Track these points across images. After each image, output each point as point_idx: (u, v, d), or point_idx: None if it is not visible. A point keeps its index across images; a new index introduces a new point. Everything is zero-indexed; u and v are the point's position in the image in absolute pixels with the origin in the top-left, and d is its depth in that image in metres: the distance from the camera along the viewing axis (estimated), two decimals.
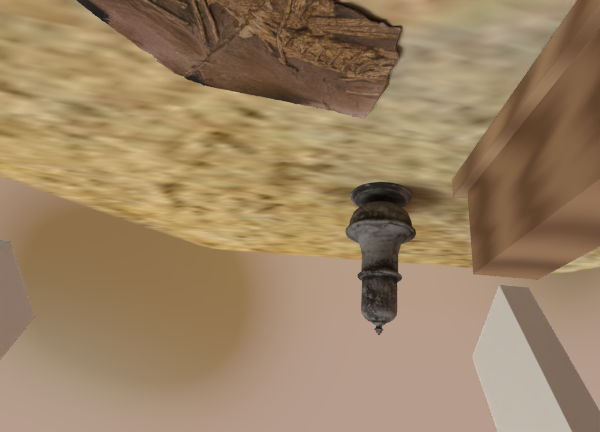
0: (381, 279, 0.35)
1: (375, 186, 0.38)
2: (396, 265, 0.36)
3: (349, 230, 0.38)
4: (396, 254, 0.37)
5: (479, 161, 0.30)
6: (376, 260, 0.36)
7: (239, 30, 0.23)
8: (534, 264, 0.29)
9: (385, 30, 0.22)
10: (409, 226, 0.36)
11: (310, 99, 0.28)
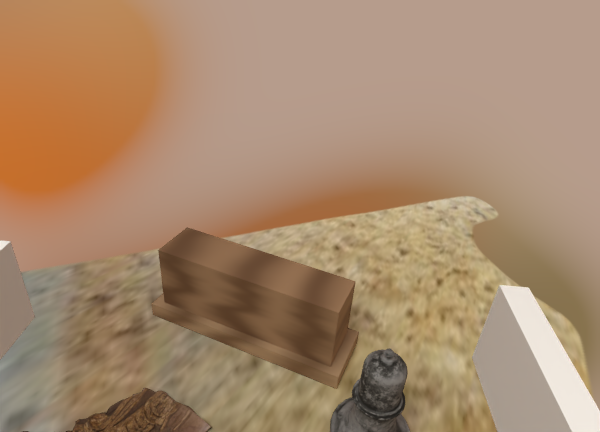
0: (359, 384, 0.31)
1: None
2: None
3: None
4: None
5: (282, 355, 0.41)
6: (355, 402, 0.31)
7: None
8: (316, 282, 0.40)
9: (138, 394, 0.38)
10: None
11: None
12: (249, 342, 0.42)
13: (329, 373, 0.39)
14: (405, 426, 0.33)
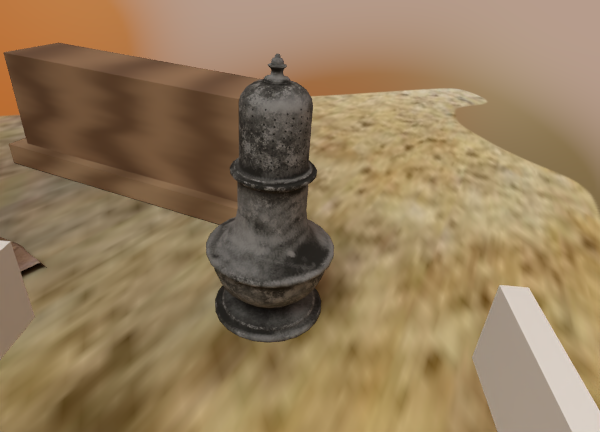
0: None
1: (222, 295, 0.23)
2: None
3: (232, 271, 0.19)
4: None
5: (173, 191, 0.29)
6: None
7: None
8: (217, 79, 0.28)
9: None
10: None
11: None
12: (130, 179, 0.30)
13: (235, 208, 0.27)
14: (327, 241, 0.21)
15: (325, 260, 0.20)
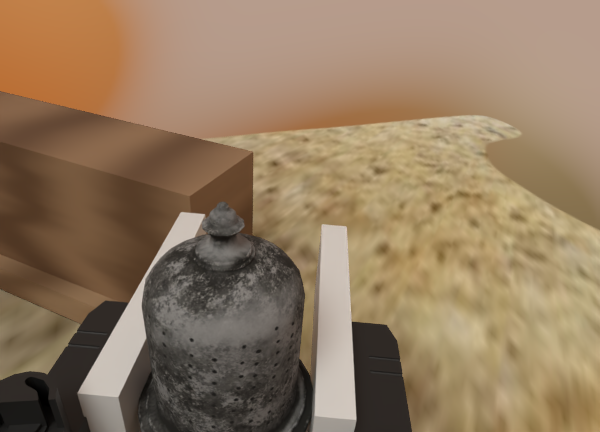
0: None
1: None
2: None
3: None
4: None
5: None
6: None
7: None
8: (167, 150, 0.18)
9: None
10: None
11: None
12: (45, 287, 0.21)
13: None
14: None
15: None
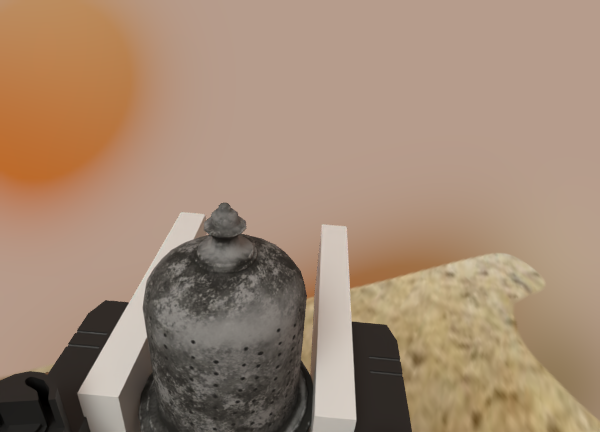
0: None
1: None
2: None
3: None
4: None
5: None
6: None
7: None
8: None
9: None
10: None
11: None
12: None
13: None
14: None
15: None
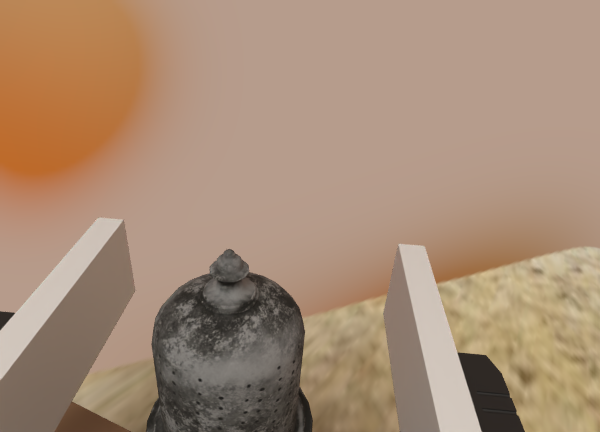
0: None
1: None
2: None
3: None
4: None
5: None
6: None
7: None
8: None
9: None
10: None
11: None
12: None
13: None
14: None
15: None
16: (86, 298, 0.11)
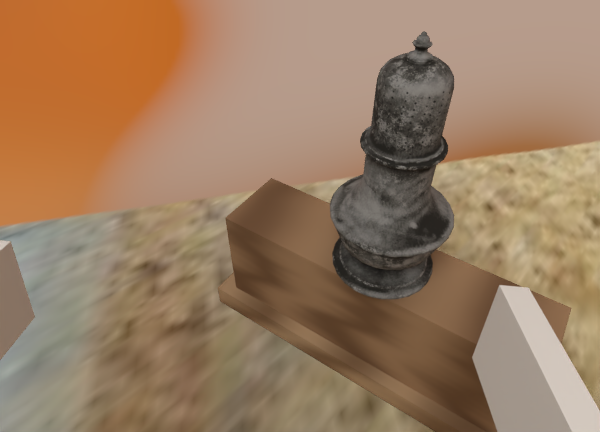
0: None
1: (339, 249, 0.24)
2: None
3: (356, 237, 0.20)
4: None
5: (418, 406, 0.25)
6: None
7: None
8: None
9: None
10: None
11: None
12: (363, 374, 0.26)
13: None
14: (447, 210, 0.21)
15: (445, 232, 0.20)
16: None
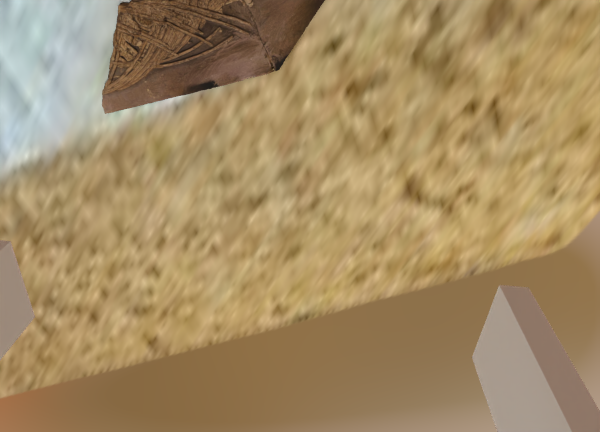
0: None
1: None
2: None
3: None
4: None
5: None
6: None
7: (245, 4, 0.35)
8: None
9: None
10: None
11: None
12: None
13: None
14: None
15: None
16: None
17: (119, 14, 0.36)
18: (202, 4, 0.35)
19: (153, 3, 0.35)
